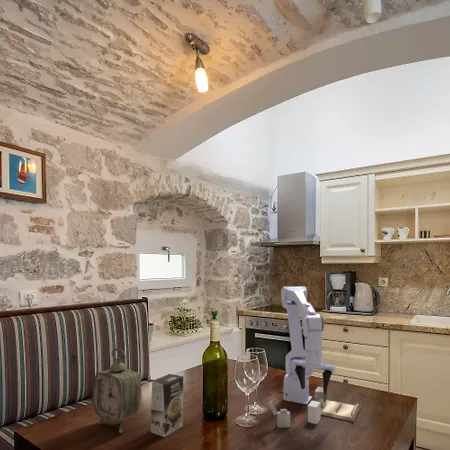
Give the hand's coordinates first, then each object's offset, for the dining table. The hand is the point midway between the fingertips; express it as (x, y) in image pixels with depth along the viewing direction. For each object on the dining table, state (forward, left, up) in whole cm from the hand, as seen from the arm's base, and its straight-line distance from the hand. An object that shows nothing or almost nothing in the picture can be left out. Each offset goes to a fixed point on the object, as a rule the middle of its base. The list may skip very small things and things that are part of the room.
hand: (314, 390), depth 126 cm
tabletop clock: (-56, -36, -10) cm, 67 cm away
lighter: (-9, -10, -10) cm, 17 cm away
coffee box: (-40, -30, -10) cm, 51 cm away
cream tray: (+5, +11, -10) cm, 16 cm away
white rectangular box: (0, 0, -10) cm, 10 cm away
